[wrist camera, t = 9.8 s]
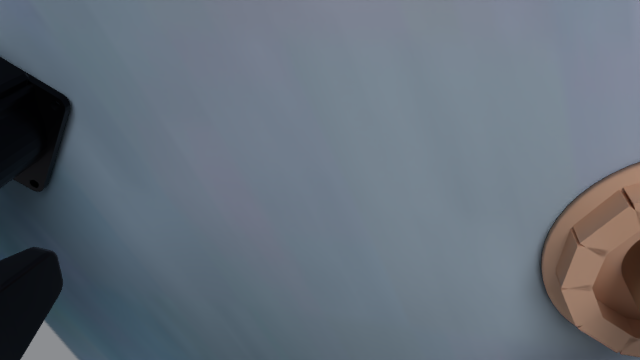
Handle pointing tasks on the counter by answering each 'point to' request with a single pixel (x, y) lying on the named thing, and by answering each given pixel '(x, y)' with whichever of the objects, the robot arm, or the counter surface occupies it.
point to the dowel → (632, 272)
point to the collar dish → (597, 261)
